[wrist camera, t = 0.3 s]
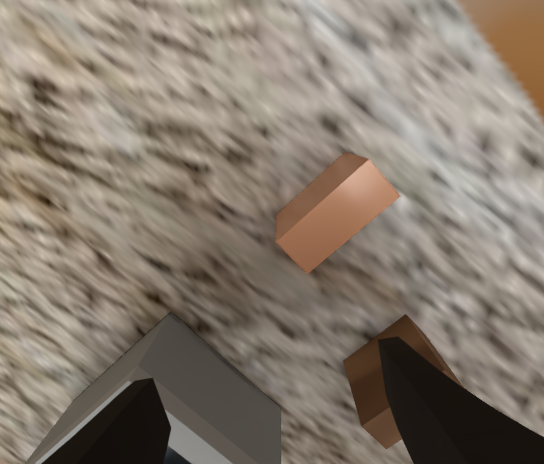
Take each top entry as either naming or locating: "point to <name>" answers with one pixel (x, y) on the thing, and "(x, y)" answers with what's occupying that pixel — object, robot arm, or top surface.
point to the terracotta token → (332, 210)
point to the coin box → (184, 401)
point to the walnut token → (370, 381)
